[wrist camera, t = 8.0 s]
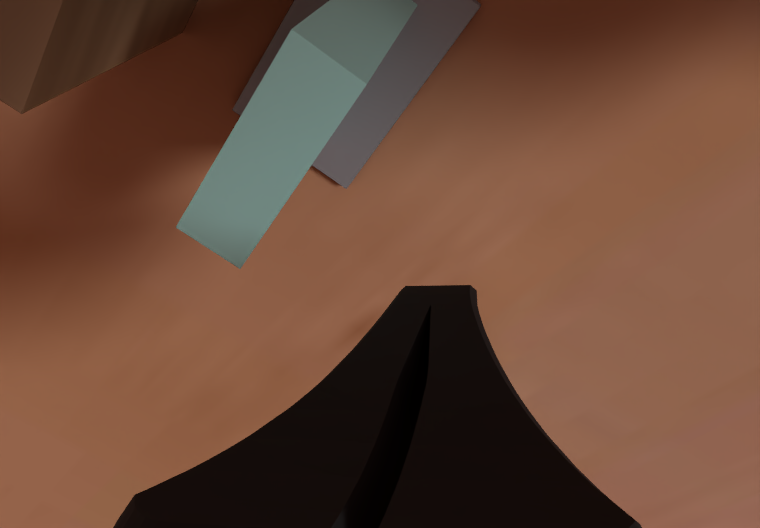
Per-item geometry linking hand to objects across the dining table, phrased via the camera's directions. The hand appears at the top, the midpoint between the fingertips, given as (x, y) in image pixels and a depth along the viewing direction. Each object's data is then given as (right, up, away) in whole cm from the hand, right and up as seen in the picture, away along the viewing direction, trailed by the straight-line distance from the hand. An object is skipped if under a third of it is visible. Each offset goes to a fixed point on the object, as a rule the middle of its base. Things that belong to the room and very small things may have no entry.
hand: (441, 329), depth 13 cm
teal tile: (-2, +7, +7) cm, 10 cm away
